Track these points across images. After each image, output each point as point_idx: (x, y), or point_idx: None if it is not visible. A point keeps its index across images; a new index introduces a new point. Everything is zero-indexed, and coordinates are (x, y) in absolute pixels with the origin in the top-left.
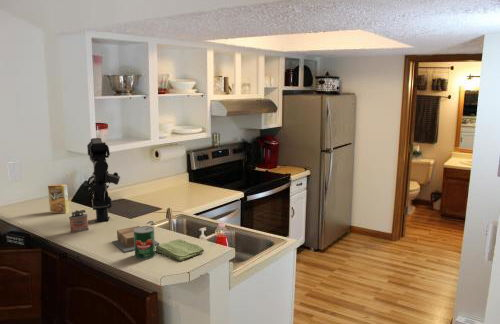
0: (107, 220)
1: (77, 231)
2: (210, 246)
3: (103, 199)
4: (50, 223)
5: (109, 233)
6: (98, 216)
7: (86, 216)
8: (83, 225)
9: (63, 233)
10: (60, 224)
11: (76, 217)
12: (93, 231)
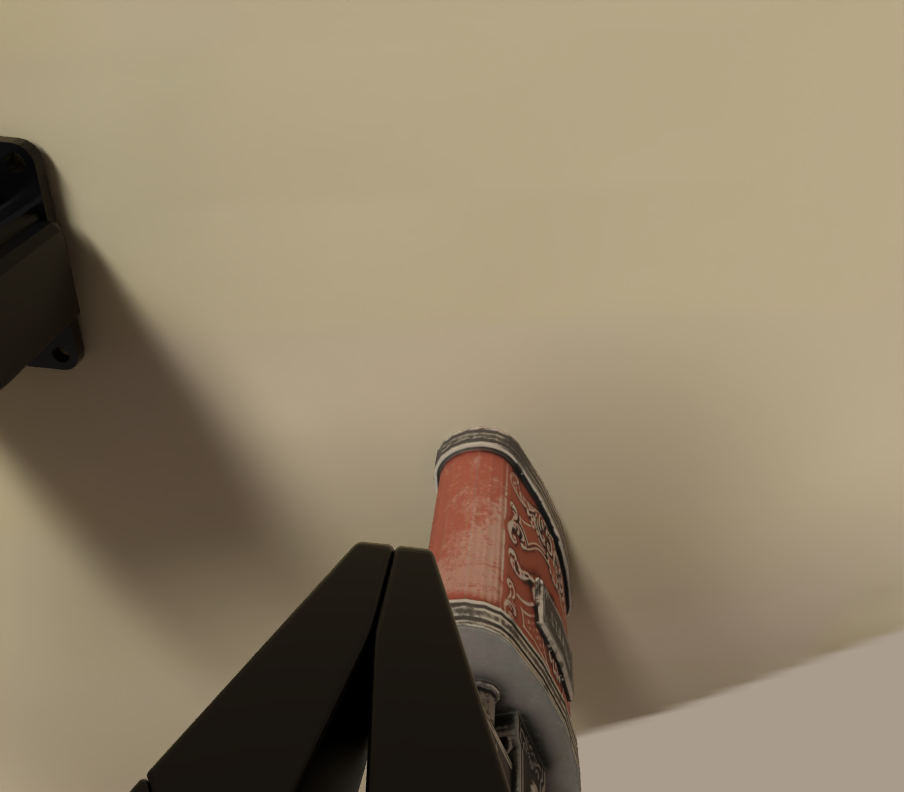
0: (35, 157)
1: (565, 557)
2: None
3: (455, 637)
4: (111, 769)
5: (873, 75)
6: (37, 352)
7: (506, 616)
8: (535, 544)
9: None
10: (158, 701)
11: (573, 748)
12: (601, 358)
